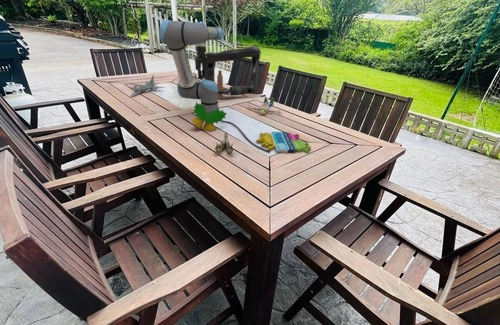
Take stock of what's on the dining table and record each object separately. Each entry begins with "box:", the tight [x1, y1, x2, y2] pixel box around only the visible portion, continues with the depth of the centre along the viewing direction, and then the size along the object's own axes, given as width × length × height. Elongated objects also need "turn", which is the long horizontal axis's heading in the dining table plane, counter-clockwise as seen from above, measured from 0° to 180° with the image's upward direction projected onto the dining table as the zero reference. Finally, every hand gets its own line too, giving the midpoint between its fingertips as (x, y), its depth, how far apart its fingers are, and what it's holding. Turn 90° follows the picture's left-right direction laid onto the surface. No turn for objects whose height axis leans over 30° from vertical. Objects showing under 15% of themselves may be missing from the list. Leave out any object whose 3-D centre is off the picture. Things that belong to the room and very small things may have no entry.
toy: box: [246, 95, 283, 116], centre depth 203 cm, size 28×7×30 cm
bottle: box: [216, 69, 224, 100], centre depth 219 cm, size 4×4×23 cm
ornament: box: [191, 102, 228, 132], centre depth 162 cm, size 21×8×15 cm, turn 105°
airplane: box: [130, 74, 165, 97], centre depth 228 cm, size 38×32×10 cm
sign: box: [256, 131, 312, 154], centre depth 152 cm, size 26×2×30 cm
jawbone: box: [214, 131, 234, 156], centre depth 136 cm, size 9×15×10 cm
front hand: (201, 78), depth 204 cm, fingers closed on cap, 4 cm apart
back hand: (216, 91), depth 220 cm, fingers closed on bottle, 4 cm apart
